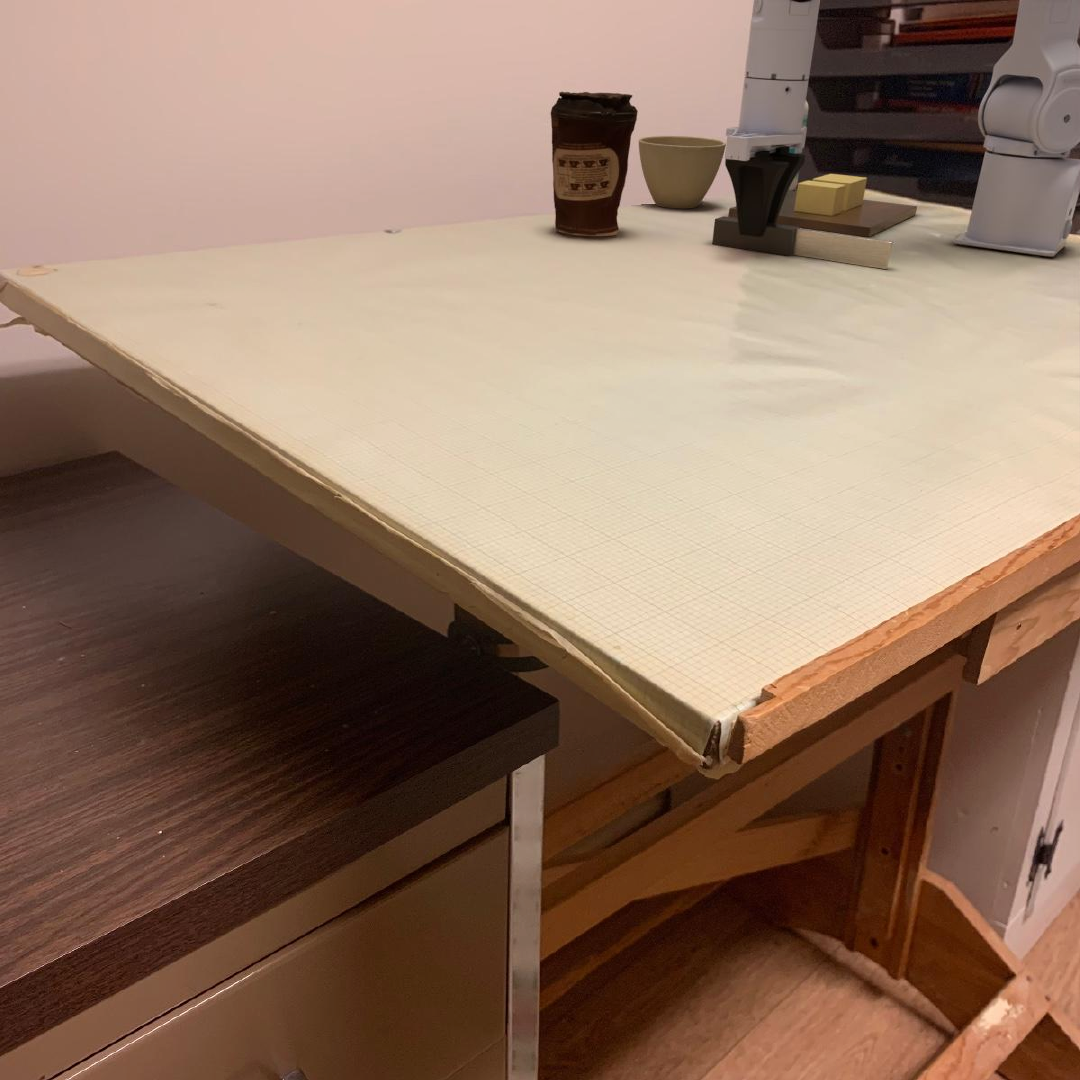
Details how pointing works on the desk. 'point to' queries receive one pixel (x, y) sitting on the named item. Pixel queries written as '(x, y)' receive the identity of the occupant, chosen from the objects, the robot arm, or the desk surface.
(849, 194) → the butter block
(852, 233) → the butter board
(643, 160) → the tan bowl
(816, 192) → the butter slice
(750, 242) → the knife
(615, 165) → the coffee cup
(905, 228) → the desk surface
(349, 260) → the desk surface
